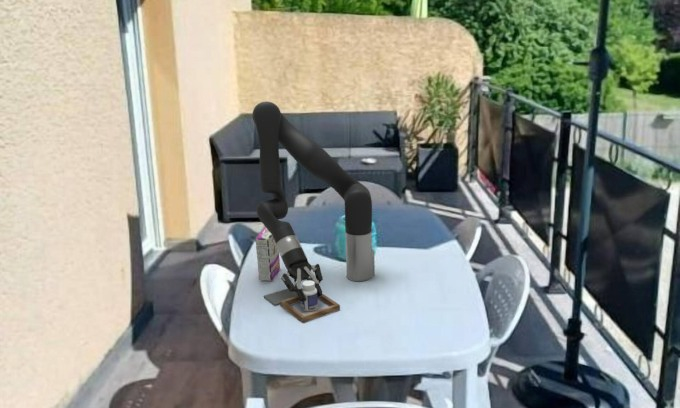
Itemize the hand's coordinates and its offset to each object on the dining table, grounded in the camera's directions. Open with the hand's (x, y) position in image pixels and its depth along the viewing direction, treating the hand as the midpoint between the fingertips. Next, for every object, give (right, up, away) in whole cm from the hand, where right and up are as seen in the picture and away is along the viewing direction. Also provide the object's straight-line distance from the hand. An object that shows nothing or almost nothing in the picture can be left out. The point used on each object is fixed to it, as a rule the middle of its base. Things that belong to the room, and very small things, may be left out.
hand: (312, 298), depth 206 cm
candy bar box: (-17, +4, +28) cm, 33 cm away
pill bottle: (-1, -4, +3) cm, 5 cm away
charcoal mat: (-9, -1, +11) cm, 15 cm away
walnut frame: (-1, -4, +3) cm, 5 cm away
